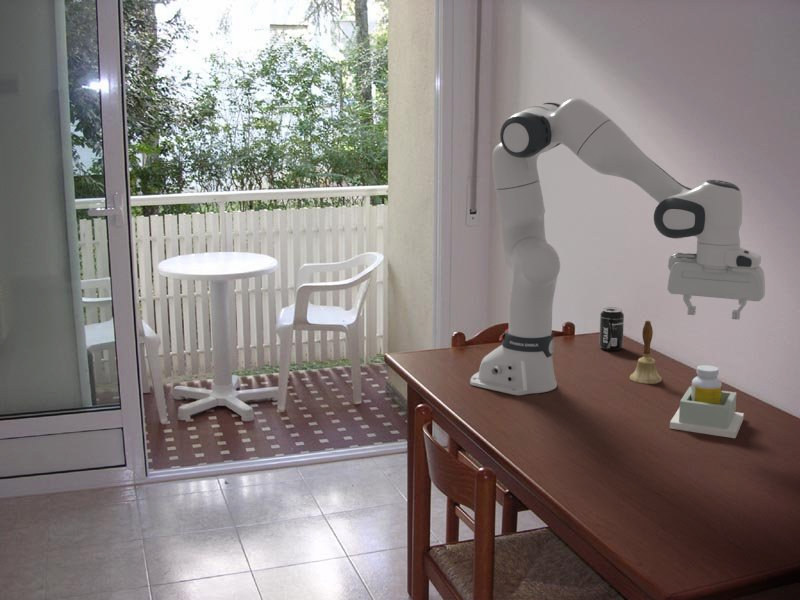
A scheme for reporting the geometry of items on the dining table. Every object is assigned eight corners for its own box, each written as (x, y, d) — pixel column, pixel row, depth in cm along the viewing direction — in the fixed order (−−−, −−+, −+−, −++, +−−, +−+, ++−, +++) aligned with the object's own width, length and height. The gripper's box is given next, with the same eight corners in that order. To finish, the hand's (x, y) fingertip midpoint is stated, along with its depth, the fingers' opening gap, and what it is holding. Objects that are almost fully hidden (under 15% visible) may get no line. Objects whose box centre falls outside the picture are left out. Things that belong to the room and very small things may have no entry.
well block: (669, 428, 198) (671, 400, 197) (681, 410, 209) (682, 384, 208) (735, 438, 192) (737, 410, 190) (743, 419, 203) (745, 392, 202)
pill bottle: (722, 422, 197) (725, 373, 195) (692, 421, 198) (695, 371, 196) (717, 412, 203) (720, 364, 201) (688, 411, 204) (690, 363, 202)
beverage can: (597, 345, 266) (599, 306, 263) (620, 345, 265) (622, 306, 262) (600, 351, 259) (601, 311, 256) (624, 351, 258) (625, 312, 256)
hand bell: (660, 385, 228) (663, 325, 224) (627, 382, 231) (630, 323, 227) (663, 376, 235) (666, 318, 232) (631, 373, 238) (634, 316, 235)
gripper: (666, 254, 195) (662, 314, 198) (765, 261, 185) (760, 324, 188) (672, 249, 200) (668, 309, 203) (768, 256, 190) (763, 318, 193)
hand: (713, 316), depth 195 cm, fingers open, 8 cm apart
